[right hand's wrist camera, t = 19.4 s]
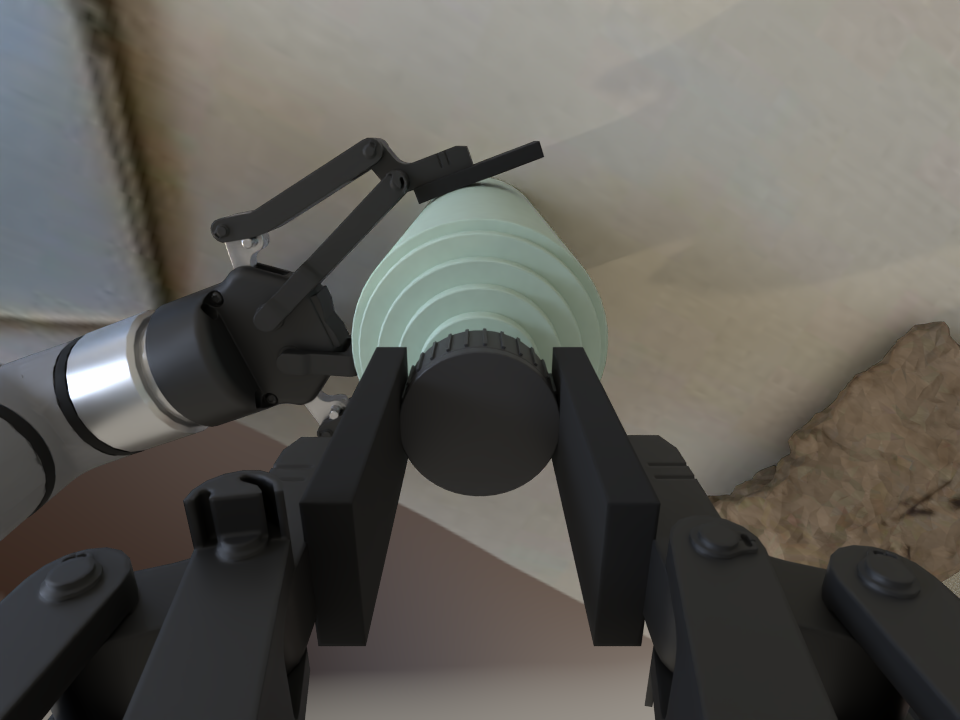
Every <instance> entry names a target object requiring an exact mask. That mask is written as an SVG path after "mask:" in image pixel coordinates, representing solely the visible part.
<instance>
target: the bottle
mask: <svg viewBox="0 0 960 720" xmlns="http://www.w3.org/2000/svg"><path fill="white" fill-rule="evenodd" d="M483 328H486V329H487V331H495V332H499V333H500V332H501V331H503V332H504V334H506V335H508V336H511V337H513V338H515V339H516V338H517V337H518V338H520V341H521V342H522V343H524V344H525V345H527V346H528V347H529V348H531V347H533V348H534V351H535V353H536V354H537V356H538V357H539V358H540V359H541V360H542V359H543V360H544V361H545V364H546V368H547V371H548V373H551V374H552V354H553V347H583V348H584V350H585V352H586V354H587V356H588V358H589V360H590V362H591V364H592V366H593V368H594V370H595V372H596V374H597V376H598V378H599V380H601V377H602V374H603V370H604V367H605V363H606V357H607V350H608V328H607V321H606V314H605V311H604V308H603V304H602V301H601V298H600V296H599V294H598V291H597V289H596V287H595V285H594V283H593V281H592V280H591V278H590V277H589V275H588V274H587V272H586V270H585V269H584V268H583V267H582V265H581V264H580V263H579V262H578V260H577V259H576V258H575V257H574V256H573V254H572V253H571V252H570V251H569V249H568V248H567V247H566V246H565V244H564V243H563V242H562V241H561V240H560V238H559V237H558V236H557V235H556V233H555V232H554V231H553V230H552V228H551V227H550V226H549V225H548V224H547V222H546V221H545V220H544V219H543V217H542V216H541V215H540V214H539V213H538V211H537V210H536V209H535V208H534V206H533V205H532V204H531V203H530V201H529V200H528V199H527V198H526V197H525V196H524V195H523V194H522V193H521V192H520V191H519V190H517V189H516V188H514V187H513V186H511V185H509V184H507V183H505V182H503V181H500V180H497V179H493V178H487V179H484V180H481V181H479V182H476V183H474V184H471V185H468V186H466V187H463V188H460V189H458V190H455V191H452V192H450V193H447V194H444V195H442V196H439V197H436V198H434V199H432V200H431V201H430V202H429V204H428V205H427V206H426V207H425V209H424V210H423V211H422V212H421V214H420V215H419V216H418V217H417V218H416V220H415V221H414V222H413V223H412V225H411V226H410V227H409V228H408V229H407V231H406V232H405V233H404V234H403V236H402V237H401V238H400V239H399V240H398V242H397V243H396V244H395V245H394V247H393V248H392V249H391V250H390V252H389V253H388V254H387V255H386V256H385V258H384V259H383V260H382V261H381V263H380V264H379V265H378V266H377V268H376V269H375V270H374V272H373V273H372V274H371V276H370V278H369V279H368V281H367V283H366V285H365V286H364V288H363V290H362V293H361V295H360V298H359V300H358V303H357V306H356V310H355V314H354V318H353V326H352V353H353V359H354V364H355V368H356V372H357V375H358V378H359V381H360V379H361V377H362V375H363V373H364V371H365V369H366V367H367V365H368V363H369V361H370V359H371V357H372V355H373V353H374V351H375V349H376V347H407V362H408V376H409V373H410V370H411V367H412V365H414V366H415V365H416V363H417V361H418V360H419V358H420V354H421V353H422V352H424V353H425V352H426V351H427V350H428V349H429V348H430V347H432V346H433V343H434V342H435V341H436V342H439V341H441V340H442V339H444V338H446V337H448V334H452V335H454V334H457V333H461V332H465V330H466V329H469V331H473V330H483Z"/></svg>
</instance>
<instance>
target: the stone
mask: <svg viewBox="0 0 960 720" xmlns="http://www.w3.org/2000/svg"><path fill="white" fill-rule="evenodd" d="M788 443H789V446H790V450H791V453H790V454H789V455H787V456H785V457H783V458H782V459H781V460H780V461H779V462H778V464H777V466H771V467H768V468H766V469H763V470H761V471H759V472H758V473H756V474H755V475H754V477H753V479H752V480H748V481H745V482H744V483H742V484H739V485H737V486H735V489H734V491H733V492H732V494H731V495H720V496H708V498H709V499H710V501H711V503H712V504H713V506H714V507H715V509H716V510H717V512H718V513H719V515H720V517H721V518H723V519H727V520H729V521H732V522H734V523H736V524H738V525H741V526H743V527H745V528H746V529H747V530H749V531H750V532H751V533H753V534H754V535H755V536H757V537H758V538H759V540H760V541H761V543H762V544H763V545H764V547H765V548H766V550H767V553H768V555H769V556H772V557H775V558H779V559H782V560H786V561H790V562H795V563H800V564H804V565H809V566H814V567H818V568H823V569H827V566H828V563H829V559H830V556H831V555H832V554H833V553H834V552H835V551H836V550H837V549H838V548H841V547H846V546H851V545H860V546H872V547H876V548H881V549H883V550H888V551H891V552H894V553H896V554H898V555H900V556H902V557H905V558H907V559H909V560H911V561H913V562H915V563H917V564H918V565H920V566H921V567H922V568H924V569H925V570H927V571H928V572H929V573H931V574H932V575H934V576H935V577H936V578H937V579H938V580H939V581H941V582H942V581H944V580H946V579H947V578H949V577H951V576H952V575H954V574H955V573H957V572H958V571H960V346H959V345H958V344H957V343H956V342H955V341H954V340H953V339H952V338H951V337H950V331H949V327H948V326H947V325H946V323H945V322H932V323H928V324H921V325H915V326H913V327H912V328H911V329H910V330H909V332H908V333H907V334H906V335H904V336H903V337H901V338H900V339H898V340H897V342H896V344H895V345H894V346H893V347H892V348H891V349H890V351H889V352H888V353H887V354H886V355H885V357H884V358H883V359H882V360H881V361H880V362H879V363H877V364H876V365H874V366H872V367H870V368H869V369H868V370H867V371H865V372H862V373H859V374H856V375H855V376H854V378H853V379H852V380H851V381H850V382H849V383H848V384H847V386H846V388H845V389H843V390H842V391H841V392H839V395H838V397H837V399H836V400H835V401H834V402H833V403H832V404H831V405H830V406H829V407H828V408H826V409H825V410H823V411H822V412H819V413H817V414H815V415H814V416H813V418H812V419H811V420H810V421H809V422H808V423H807V424H806V425H805V426H803V427H802V428H801V429H799V430H797V431H795V432H794V433H793V435H792V436H791V437H790V438H789V440H788Z"/></svg>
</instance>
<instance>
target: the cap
mask: <svg viewBox="0 0 960 720" xmlns="http://www.w3.org/2000/svg"><path fill="white" fill-rule="evenodd" d="M555 394H557V390H556V387H555V384H554V380H553V377H552V374H551V373H548V371H547V368H546V364H545V361H544V360H543V359H542V360H541V359H540V358H539V357H538V356H537V354H536V353H535V351H534V348H533V347H531V348H529V347H528V346H527V345H525V344H524V343H522V342H521V341H520V338H518V337H517V338H516V339H515V338H513V337H511V336H508V335H506V334H504V332H503V331H501V332H500V333H499V332H495V331H487V329H486V328H483V330H473V331H469V329H466V330H465V332H461V333H457V334H454V335H452V334H448V337H446V338H444V339H442V340H441V341H439V342H436V341H435V342H434V343H433V346H432V347H430V348H429V349H428V350H427V351H426V352H425V353H424V352H422V353H421V354H420V358H419V360H418V361H417V363H416V365H415V366H414V365H412V367H411V370H410V373H409V376H408V380H407V382H406V385H405V388H404V392H403V395H402V404H401V408H400V426H401V442H402V446H403V448H404V451H405V453H406V455H407V456H408V458H409V460H410V461H411V463H412V464H413V465H414V467H415V468H416V469H417V470H418V471H419V472H420V473H421V474H422V475H423V476H424V477H426V478H427V479H428V480H429V481H431V482H433V483H434V484H436V485H437V486H439V487H442V488H444V489H446V490H448V491H451V492H454V493H458V494H463V495H469V496H490V495H497V494H501V493H505V492H508V491H511V490H514V489H516V488H518V487H520V486H522V485H524V484H526V483H527V482H529V481H530V480H532V479H533V478H534V477H535V476H536V475H538V474H539V473H540V472H541V471H542V470H543V468H544V467H545V466H546V465H547V463H548V462H549V461H550V459H551V458H552V456H553V454H554V452H555V450H556V447H557V444H558V436H559V419H560V410H559V406H558V402H557V399H556V395H555Z"/></svg>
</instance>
